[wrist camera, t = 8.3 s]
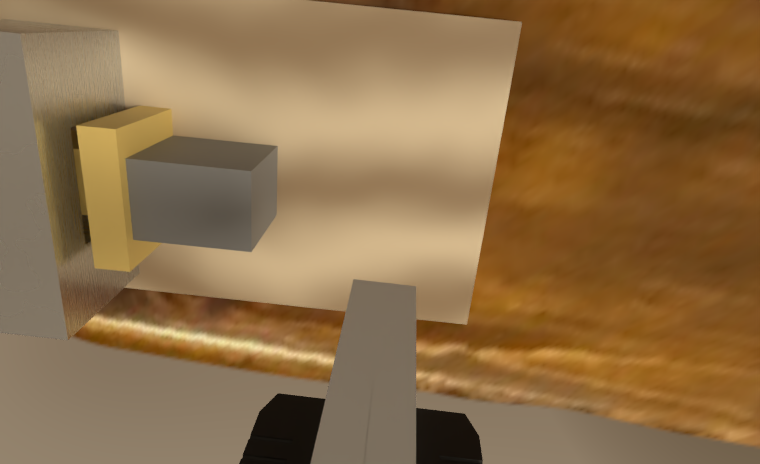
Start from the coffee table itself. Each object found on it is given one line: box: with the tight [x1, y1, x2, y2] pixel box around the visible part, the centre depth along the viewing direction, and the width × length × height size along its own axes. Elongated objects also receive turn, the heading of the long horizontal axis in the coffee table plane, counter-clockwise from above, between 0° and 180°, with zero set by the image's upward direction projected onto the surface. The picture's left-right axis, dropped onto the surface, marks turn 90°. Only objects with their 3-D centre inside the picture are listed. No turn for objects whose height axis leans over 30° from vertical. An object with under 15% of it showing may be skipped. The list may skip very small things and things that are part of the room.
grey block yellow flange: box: [71, 106, 278, 272], centre depth 23 cm, size 6×14×5 cm, turn 85°
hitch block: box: [0, 19, 140, 340], centre depth 22 cm, size 12×5×6 cm, turn 175°
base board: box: [0, 0, 522, 324], centre depth 26 cm, size 15×26×1 cm, turn 85°
